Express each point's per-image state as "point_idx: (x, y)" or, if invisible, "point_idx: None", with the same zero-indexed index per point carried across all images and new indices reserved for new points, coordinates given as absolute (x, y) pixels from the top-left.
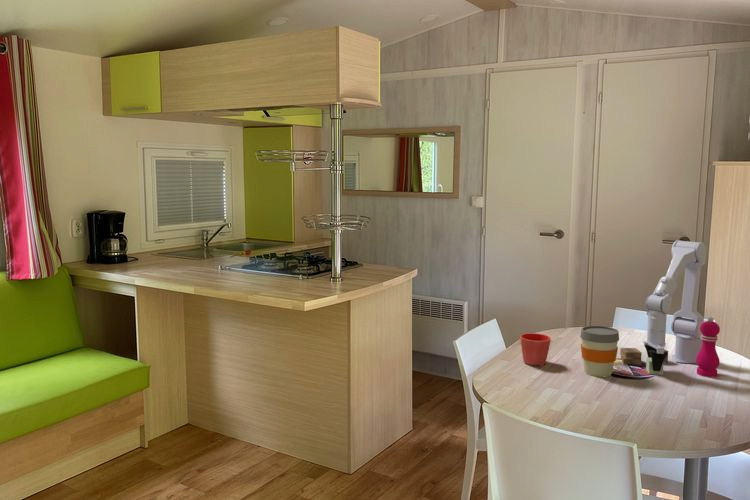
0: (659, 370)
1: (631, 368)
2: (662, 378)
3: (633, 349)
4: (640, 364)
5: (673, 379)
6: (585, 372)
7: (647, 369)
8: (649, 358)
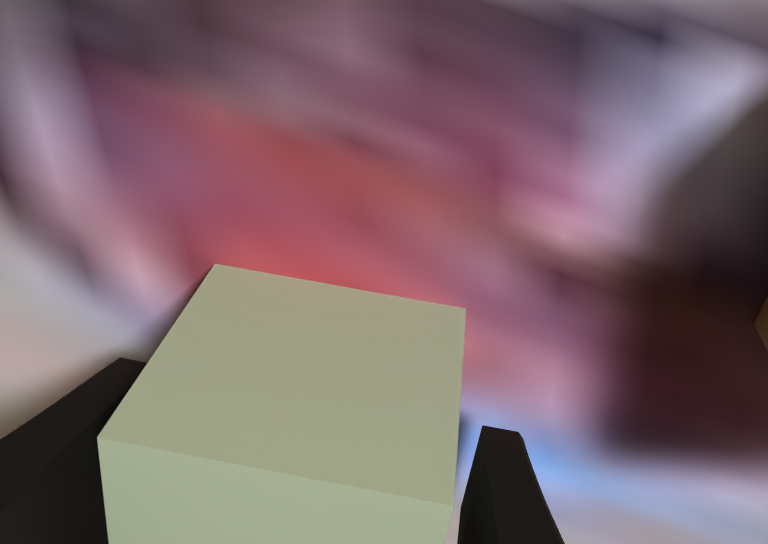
0: None
1: (557, 38)
2: (14, 373)
3: None
4: (765, 323)
5: None
6: None
7: (328, 310)
8: (357, 527)
